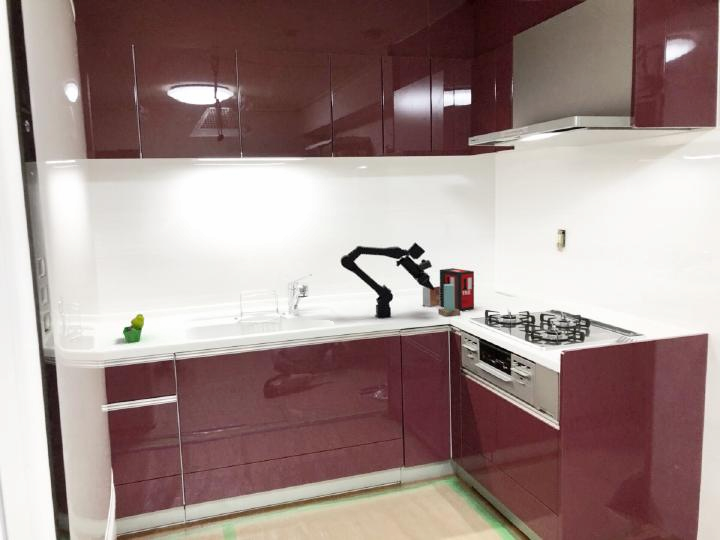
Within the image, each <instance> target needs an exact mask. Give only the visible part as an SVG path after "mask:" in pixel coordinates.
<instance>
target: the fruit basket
mask: <svg viewBox="0 0 720 540" xmlns="http://www.w3.org/2000/svg"><path fill="white" fill-rule="evenodd" d="M144 322H145V317H144V316H143V314H141V313H138V314H137V315H136V316H135V317H133V318H132V319H131V321H130V324H131V325H129V326H125V327H124V328H123V330H122V334H123V335H124V338H125V341H126V343H128V344H129V343H137V342H140V341H141V335H142V329H143V328H144V325H145V323H144Z"/></svg>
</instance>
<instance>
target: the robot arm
mask: <svg viewBox="0 0 720 540" xmlns="http://www.w3.org/2000/svg"><path fill="white" fill-rule="evenodd" d="M425 253H426V250H425V249H424V248H423V247H422V246H420V244H418V243H417V242H414V243H413V244H412V245H411V246H410V247H409V248H408V249H406V248H405V249H403V248H401V247H399V246H388V247H376V246H374V247H373V246H363V245H357V246H356V247H355V248H354V249H353V250H351V251H350V252H349V253H347V254H345V255H342V256H341V258H340V264H341V266H342V268H344V269H346V270H348V271H349V272H351V273H353V274H355V275H356V276H357V277H358V278H359V279H360V280H362V281H363V282H364V283H366V285H367V286H369V287H370V288H371V289H372V290H373V291H374V292H375V293H376V294H377V295H378V297H376V299H375V300H376V303H377V304H375V314H374V316H375V317H376V318H378V319H387V318H392V314H391V313H392V311H391V310H392V309H391V308H392V307H390V302H392V301H393V299H394V295H393V293H392V292H393V291H392V289H390V288H388V287H387V285H385V284H383V285H381V284H379V283H378V282H377V281H376V280H374V279H373V278H372V277H371V276H370V275H369V274H368V273H366V272H365V271H364V270H363V269H361V267H359V265H358V264H357V263H356V262H355V261H356V260H357V259H358V258H359V257H360V256H361V255H365V256H366V255H369V256H383V257H388V258H391V259H395V260H396V261H395V262H396V266H397V267H398V268H399V266H402V268H404V270H405V271H406V272H408V273H409V275H411V276H412V278H413V279H414V280H415V281H416V282H417V283H418V285H420V286H422V287H426V288H429V289H431V290H434V289H435V288H434V287H433V285H434V284H432V283H431V281H430V279H431V276H430V275H429V274H428V272H425V270H427V269H430V268H432V267H433V265H432V263H431V261H430V260H429V259H421V261H420V263H416V262H415V261H414V260H418V259H420V258H421V257H422V255H423V254H425Z"/></svg>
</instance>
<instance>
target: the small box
mask: <svg viewBox="0 0 720 540" xmlns="http://www.w3.org/2000/svg"><path fill="white" fill-rule="evenodd" d="M432 285H433V287H434V288H435V289H434V290H431V289H429V288H426V287H424V286H422V306H423V305H425V306H424V307H427V306H429V308H432V307H436V306H435V305H438V306H440V285H434V284H432ZM431 306H432V307H431Z"/></svg>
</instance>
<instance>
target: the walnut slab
mask: <svg viewBox="0 0 720 540" xmlns="http://www.w3.org/2000/svg"><path fill="white" fill-rule="evenodd" d="M437 311H438V313H439V314H438V315H440V314H441V315H440V316H442V317H446V318H447V317H457V316H456V315H458V316H461V312H460V310H458V309H455V310H451V311H445V310H444V308H443V307H441V308H438V309H437Z"/></svg>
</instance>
